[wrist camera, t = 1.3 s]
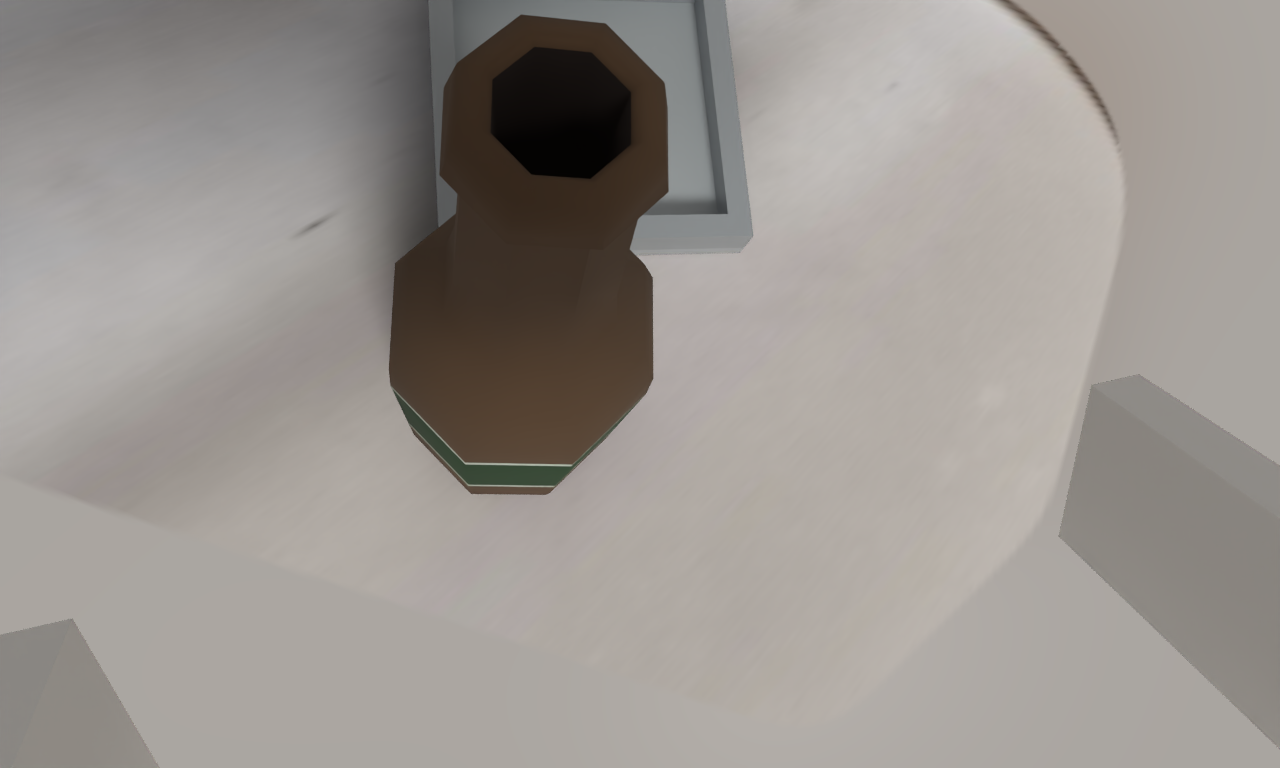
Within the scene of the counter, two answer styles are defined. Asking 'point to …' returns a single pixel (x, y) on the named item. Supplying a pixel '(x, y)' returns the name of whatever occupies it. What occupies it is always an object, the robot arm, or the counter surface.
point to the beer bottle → (534, 258)
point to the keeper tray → (696, 98)
